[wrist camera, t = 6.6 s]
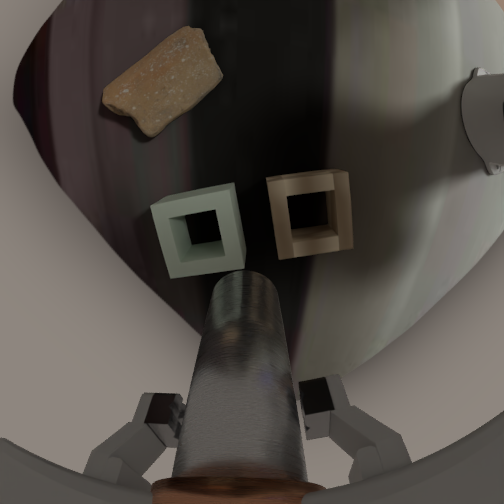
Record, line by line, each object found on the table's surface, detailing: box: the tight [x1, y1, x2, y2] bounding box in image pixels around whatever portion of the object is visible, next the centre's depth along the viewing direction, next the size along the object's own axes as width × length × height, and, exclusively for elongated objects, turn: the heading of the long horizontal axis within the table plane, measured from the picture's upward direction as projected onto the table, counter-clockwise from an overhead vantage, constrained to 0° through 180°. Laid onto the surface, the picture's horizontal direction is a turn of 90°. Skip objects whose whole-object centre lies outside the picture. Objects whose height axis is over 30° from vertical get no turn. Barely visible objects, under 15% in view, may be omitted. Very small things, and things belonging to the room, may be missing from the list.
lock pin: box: [150, 271, 326, 504], centre depth 10 cm, size 5×5×13 cm
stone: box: [102, 26, 223, 137], centre depth 27 cm, size 11×16×3 cm
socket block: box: [150, 183, 246, 279], centre depth 32 cm, size 9×9×6 cm
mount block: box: [266, 169, 353, 260], centre depth 32 cm, size 9×9×5 cm
